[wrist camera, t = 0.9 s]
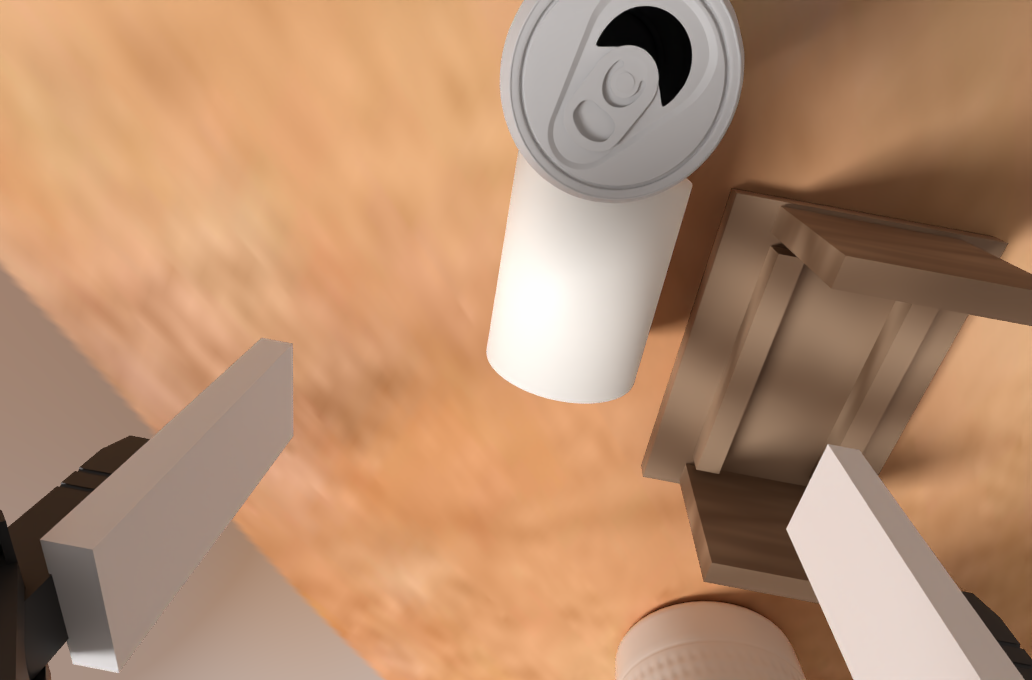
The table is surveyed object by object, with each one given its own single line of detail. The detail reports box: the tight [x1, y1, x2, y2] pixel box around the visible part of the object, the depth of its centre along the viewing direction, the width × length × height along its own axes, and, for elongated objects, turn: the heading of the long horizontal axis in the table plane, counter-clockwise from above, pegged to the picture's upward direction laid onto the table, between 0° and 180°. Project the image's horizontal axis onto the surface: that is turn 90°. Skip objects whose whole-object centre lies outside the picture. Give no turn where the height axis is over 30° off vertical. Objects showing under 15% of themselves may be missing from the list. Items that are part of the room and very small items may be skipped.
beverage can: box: [500, 0, 744, 203], centre depth 20 cm, size 6×6×12 cm
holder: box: [641, 188, 1032, 603], centre depth 27 cm, size 16×12×8 cm
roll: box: [486, 150, 693, 403], centre depth 26 cm, size 9×7×7 cm
